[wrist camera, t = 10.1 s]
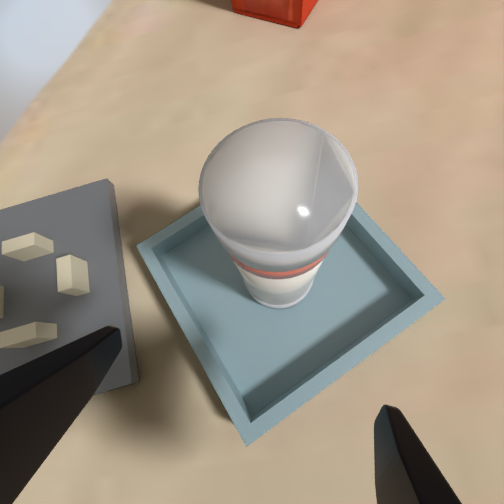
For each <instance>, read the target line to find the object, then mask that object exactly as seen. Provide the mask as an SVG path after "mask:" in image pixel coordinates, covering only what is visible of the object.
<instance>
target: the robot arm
mask: <svg viewBox="0 0 504 504" xmlns="http://www.w3.org/2000/svg"><path fill="white" fill-rule="evenodd" d="M121 349H122V337H121V331H120V329H119V328H118V327H114V326H110V325H108V326H105V327H103V328H101V329H99V330H96V331H94V332H92V333H90V334H88V335H86V336H83V337H81V338H79V339H77V340H75V341H73V342H70V343H68V344H66V345H64V346H62V347H60V348H57V349H55V350H53V351H51V352H49V353H46V354H44V355H42V356H40V357H38V358H36V359H33V360H31V361H29V362H27V363H25V364H23V365H20V366H18V367H16V368H14V369H12V370H9V371H7V372H5V373H3V374H1V375H0V504H12V503H13V502H14V501H15V499H16V498H17V497H18V495H19V494H20V493H21V491H22V490H23V489H24V487H25V486H26V485H27V483H28V482H29V481H30V479H31V478H32V477H33V475H34V474H35V473H36V471H37V470H38V469H39V467H40V466H41V464H42V463H43V462H44V460H45V459H46V458H47V456H48V455H49V454H50V452H51V451H52V450H53V448H54V447H55V446H56V444H57V443H58V442H59V440H60V439H61V438H62V436H63V435H64V434H65V432H66V431H67V430H68V428H69V427H70V426H71V424H72V423H73V422H74V420H75V419H76V417H77V416H78V415H79V413H80V412H81V411H82V409H83V408H84V407H85V405H86V404H87V403H88V401H89V400H90V399H91V397H92V396H93V395H94V393H95V392H96V390H97V389H98V387H99V386H100V384H101V382H102V381H103V379H104V378H105V376H106V374H107V373H108V371H109V369H110V368H111V366H112V364H113V363H114V361H115V359H116V358H117V356H118V355H119V353H120V351H121ZM374 457H375V487H376V497H377V504H462V503H461V502H460V500H459V499H458V497H457V496H456V494H455V493H454V491H453V490H452V488H451V487H450V485H449V483H448V482H447V480H446V479H445V477H444V476H443V474H442V473H441V471H440V470H439V468H438V467H437V465H436V464H435V462H434V461H433V459H432V458H431V456H430V455H429V453H428V452H427V450H426V449H425V447H424V446H423V444H422V443H421V441H420V439H419V438H418V436H417V435H416V433H415V432H414V430H413V429H412V427H411V426H410V424H409V423H408V421H407V420H406V418H405V417H404V415H403V414H402V412H401V411H400V410H399V409H398V408H396V407H393V406H389V405H383V407H382V408H381V410H380V412H379V414H378V416H377V418H376V420H375V423H374Z"/></svg>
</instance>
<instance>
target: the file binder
mask: <svg viewBox="0 0 504 504" xmlns="http://www.w3.org/2000/svg"><path fill="white" fill-rule="evenodd" d="M317 1H318V0H232V7H233V9H234V11H235V13H238V14H242V15H246V16H250V17H254V18H258V19H262V20H267V21H271V22H275V23H279V24H283V25H287V26H291V27H295V28H297V27H298V26H300V27H301V26H302V25H303V23H304V22H305V20H306V19H307V17H308V15H309V14H310V12H311V11H312V9H313V7H314V6H315V4H316V3H317Z"/></svg>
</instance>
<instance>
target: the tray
mask: <svg viewBox="0 0 504 504" xmlns="http://www.w3.org/2000/svg"><path fill="white" fill-rule="evenodd" d="M136 247H137V249H138V250H139V252H140V254H141V256H142V258H143V259H144V261H145V263H146V265H147V267H148V269H149V270H150V272H151V274H152V276H153V278H154V279H155V281H156V283H157V285H158V287H159V289H160V290H161V292H162V294H163V296H164V298H165V299H166V301H167V303H168V305H169V307H170V309H171V310H172V312H173V314H174V316H175V318H176V319H177V321H178V323H179V325H180V327H181V329H182V330H183V332H184V334H185V336H186V338H187V339H188V341H189V343H190V345H191V347H192V349H193V350H194V352H195V354H196V356H197V358H198V359H199V361H200V363H201V365H202V367H203V369H204V370H205V372H206V374H207V376H208V378H209V380H210V381H211V383H212V385H213V387H214V389H215V390H216V392H217V394H218V396H219V398H220V400H221V401H222V403H223V405H224V407H225V409H226V410H227V412H228V414H229V416H230V418H231V420H232V421H233V423H234V425H235V427H236V429H237V430H238V432H239V434H240V436H241V438H242V440H243V441H244V443H245V445H246V447H247V446H248V445H249V444H251V443H252V442H253V441H255V440H256V439H257V438H259V437H260V436H261V435H263V434H264V433H266V432H267V431H268V430H270V429H271V428H272V427H274V426H275V425H276V424H278V423H279V422H280V421H282V420H283V419H284V418H286V417H287V416H288V415H290V414H291V413H292V412H294V411H295V410H296V409H298V408H299V407H301V406H302V405H303V404H305V403H306V402H307V401H309V400H310V399H311V398H313V397H314V396H315V395H317V394H318V393H319V392H321V391H322V390H323V389H325V388H326V387H327V386H329V385H330V384H332V383H333V382H334V381H336V380H337V379H338V378H340V377H341V376H342V375H344V374H345V373H346V372H348V371H349V370H350V369H352V368H353V367H354V366H356V365H357V364H358V363H360V362H361V361H362V360H364V359H365V358H367V357H368V356H369V355H371V354H372V353H373V352H375V351H376V350H377V349H379V348H380V347H381V346H383V345H384V344H385V343H387V342H388V341H389V340H391V339H392V338H393V337H395V336H396V335H398V334H399V333H400V332H402V331H403V330H404V329H406V328H407V327H408V326H410V325H411V324H412V323H414V322H415V321H416V320H418V319H419V318H420V317H422V316H423V315H424V314H426V313H427V312H429V311H430V310H431V309H433V308H434V307H435V306H437V305H438V304H439V303H441V302H442V301H443V300H445V298H444V297H443V296H442V295H441V293H440V292H439V291H438V290H437V289H436V288H435V287H434V286H433V285H432V284H431V283H430V282H429V280H428V279H427V278H426V277H425V276H424V275H423V274H422V273H421V272H420V271H419V270H418V269H417V267H416V266H415V265H414V264H413V263H412V262H411V261H410V260H409V259H408V258H407V257H406V256H405V254H404V253H403V252H402V251H401V250H400V249H399V248H398V247H397V246H396V245H395V244H394V242H393V241H392V240H391V239H390V238H389V237H388V236H387V235H386V234H385V233H384V232H383V231H382V229H381V228H380V227H379V226H378V225H377V224H376V223H375V222H374V221H373V220H372V219H371V218H370V216H369V215H368V214H367V213H366V212H365V211H364V210H363V209H362V208H361V207H360V206H359V205H358V203H357V202H356V203H355V206H354V209H353V212H352V214H351V215H350V217H349V219H348V221H347V223H346V225H345V227H344V228H343V230H342V232H341V234H340V236H339V237H338V239H337V241H336V242H335V244H334V245H333V246H332V248H331V249H330V251H329V253H328V254H327V255H326V257H325V258H324V259H323V261H322V263H321V265H320V267H319V269H318V271H317V273H316V275H315V277H314V280H313V284H312V286H311V288H310V290H309V292H308V294H307V295H306V297H305V298H304V299H303V300H302V301H301V302H300V303H298V304H297V305H295V306H293V307H291V308H288V309H283V310H275V309H270V308H267V307H264V306H262V305H261V304H259V303H258V302H257V301H255V300H254V299H253V297H252V296H251V295H250V293H249V291H248V289H247V288H246V286H245V283H244V280H243V277H242V276H241V274H240V272H239V270H238V268H237V267H236V265H235V263H234V261H233V260H232V258H231V257H230V256H229V255H228V253H227V251H226V250H225V249H224V247H223V246H222V245H221V244H220V242H219V240H218V239H217V237H216V235H215V233H214V232H213V230H212V228H211V227H210V225H209V223H208V221H207V220H206V218H205V216H204V214H203V211H202V208H201V205H200V206H198V207H197V208H195V209H194V210H192V211H190V212H189V213H187V214H186V215H184V216H183V217H181V218H179V219H178V220H176V221H175V222H173V223H171V224H170V225H168V226H167V227H165V228H163V229H162V230H160V231H159V232H157V233H155V234H154V235H152V236H151V237H149V238H148V239H146V240H144V241H143V242H141V243H140V244H138V245H136Z"/></svg>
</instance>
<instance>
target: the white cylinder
mask: <svg viewBox="0 0 504 504" xmlns="http://www.w3.org/2000/svg"><path fill="white" fill-rule="evenodd" d="M357 194H358V178H357V172H356V169H355V165H354V163H353V161H352V158H351V156H350V155H349V153H348V152H347V150H346V148H345V147H344V146H343V145H342V144H341V143H340V141H338V140H337V139H336V138H335V137H334V136H333V135H331V134H330V133H328V132H327V131H326V130H324V129H322V128H320V127H318V126H316V125H313V124H311V123H308V122H305V121H301V120H296V119H289V118H274V119H266V120H260V121H257V122H253V123H250V124H248V125H245V126H243V127H241V128H239V129H237V130H235V131H233V132H232V133H230V134H229V135H228V136H226V137H225V138H224V139H223V140H222V141H220V142H219V143H218V145H217V146H216V147H215V148H214V149H213V150H212V152H211V153H210V155H209V156H208V158H207V160H206V162H205V163H204V166H203V169H202V171H201V175H200V180H199V200H200V205H201V208H202V211H203V214H204V216H205V218H206V220H207V221H208V223H209V225H210V227H211V228H212V230H213V232H214V233H215V235H216V237H217V239H218V240H219V242H220V244H221V245H222V246H223V247H224V249H225V250H226V251H227V253H228V255H229V256H230V257H231V258H232V260H233V261H234V263H235V265H236V267H237V268H238V270H239V272H240V274H241V276H242V277H243V280H244V283H245V286H246V288H247V289H248V291H249V293H250V295H251V296H252V297H253V299H254V300H255V301H257V302H258V303H259V304H261V305H262V306H264V307H267V308H270V309H275V310H283V309H288V308H291V307H293V306H295V305H297V304H298V303H300V302H301V301H302V300H303V299H304V298H305V297H306V295H307V294H308V292H309V290H310V288H311V286H312V284H313V280H314V277H315V275H316V273H317V271H318V269H319V267H320V265H321V263H322V261H323V259H324V258H325V257H326V255H327V254H328V253H329V251H330V249H331V248H332V246H333V245H334V244H335V242H336V241H337V239H338V237H339V236H340V234H341V232H342V230H343V228H344V227H345V225H346V223H347V221H348V219H349V217H350V215H351V214H352V212H353V209H354V206H355V203H356V200H357Z"/></svg>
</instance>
